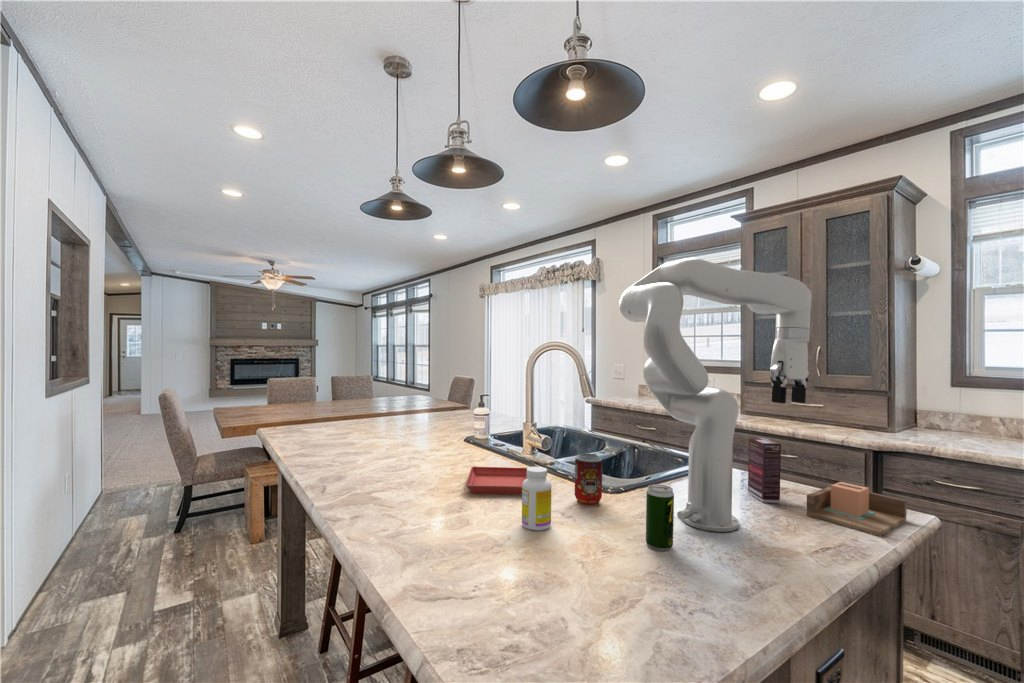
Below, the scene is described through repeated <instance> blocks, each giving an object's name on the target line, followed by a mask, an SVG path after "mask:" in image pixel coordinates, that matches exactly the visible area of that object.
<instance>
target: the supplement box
mask: <svg viewBox="0 0 1024 683" xmlns="http://www.w3.org/2000/svg"><path fill="white" fill-rule="evenodd" d="M781 450H782V443H779V442H776V441H773V440H771V439H768V438H766V437H757V436H755V437H753V436H751V437H748V463H747V464H748V466H747V469H748V472H747V494H749V495H751V496H752V497H754V498H755V499H757V500H759V501H760V502H761V503H766V504H780V503H781V462H782V461H781V460H782V459H781V456H782V453H781V452H782V451H781Z"/></svg>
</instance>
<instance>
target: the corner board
mask: <svg viewBox="0 0 1024 683" xmlns="http://www.w3.org/2000/svg"><path fill="white" fill-rule="evenodd" d="M907 503H908V502H907V500H906V499H902V498H898V497H895V496H891V495H890V496H889V495H885V494H881V493H876V492H872V491H869V512H868V513H866V514H864V515H862V516H860V517H857V516H853V515H849V514H846V513H842V512H838V511H834V510H831V485H829V486H826V487H825V488H822V489H819V490H816V491H814V492H811V493H809V494H806V512H805V514H806V516H808V517H812V518H815V519H819V520H821V519H822V521H826V522H828V523H832V524H835V523H836V525H839V526H842V525H843V527H846V528H849V527H850V529H852V528H853V530H856V529H857V530H856V531H859V530H861V531H860V532H863V531H864V533H866V532H868V534H870V533H872V534H871V535H873V534H875V535H874V536H877V535H879V536H878V537H880V536H881V537H882V535H883V534H884V535H886V534H887V533H889V532H890V531H889V530H891V529H892V530H894V529H896V528H897V527H899V526H900V524H901V525H903V524H904V523H906V522H907V514H908V513H907V512H908V511H907V510H908V509H907V507H908V506H907V505H908V504H907ZM903 522H904V523H903ZM898 525H899V526H898ZM896 526H897V527H896ZM895 527H896V528H895ZM893 528H894V529H893ZM892 530H891V531H892ZM888 531H889V532H888ZM886 532H887V533H886ZM885 533H886V534H885ZM884 535H883V536H884Z"/></svg>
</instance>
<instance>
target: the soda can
mask: <svg viewBox="0 0 1024 683" xmlns="http://www.w3.org/2000/svg"><path fill="white" fill-rule="evenodd" d="M574 461H575V462H574V497H575V498H576V502H577V504H578V503H579V504H578V505H581V506H585V507H595V506H598V505H599V504H600V501H601V500H602V497H603V458H602V457H600V455H597V454H595V453H590V452H589V453H588V452H585V453H579V454H577V456H576V457H575V458H574Z"/></svg>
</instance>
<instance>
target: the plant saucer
mask: <svg viewBox="0 0 1024 683" xmlns="http://www.w3.org/2000/svg"><path fill="white" fill-rule="evenodd" d="M527 468H528V467H506V466H504V467H501V466H500V467H499V466H495V467H494V466H472V467H470V469H469V470H470V471H469V473H468V476H467V480H466V482H465V487H466V488H467V489H468V491H470V493H471V494H480V495H481V494H487V495H488V494H489V495H490V494H491V495H493V494H494V495H495V494H496V495H522V483H523V481H524V480H525V479H527V478H528V476H527Z"/></svg>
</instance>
